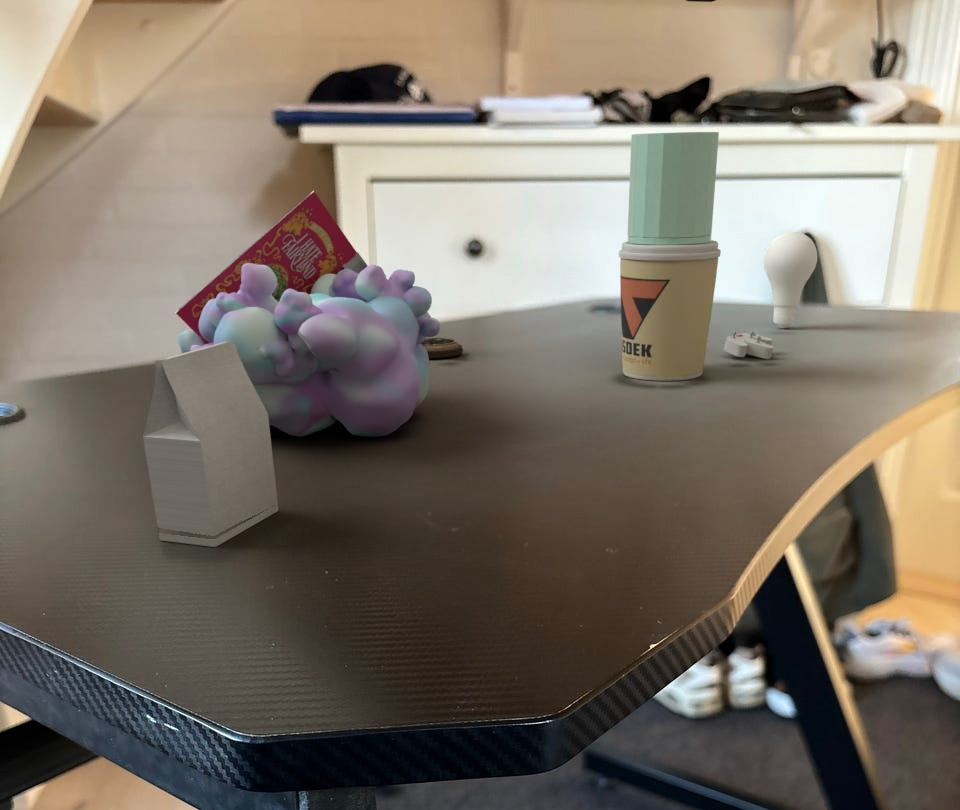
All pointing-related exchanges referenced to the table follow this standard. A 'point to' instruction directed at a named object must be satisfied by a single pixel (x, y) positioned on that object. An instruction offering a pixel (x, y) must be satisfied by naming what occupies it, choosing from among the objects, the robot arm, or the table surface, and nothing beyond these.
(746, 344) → the game controller
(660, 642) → the table surface
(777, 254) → the lightbulb
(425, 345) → the compass
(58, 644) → the table surface
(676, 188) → the glass
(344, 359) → the pastel lumpy blob
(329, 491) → the table surface
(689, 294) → the coffee cup
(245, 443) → the milk carton
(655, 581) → the table surface
